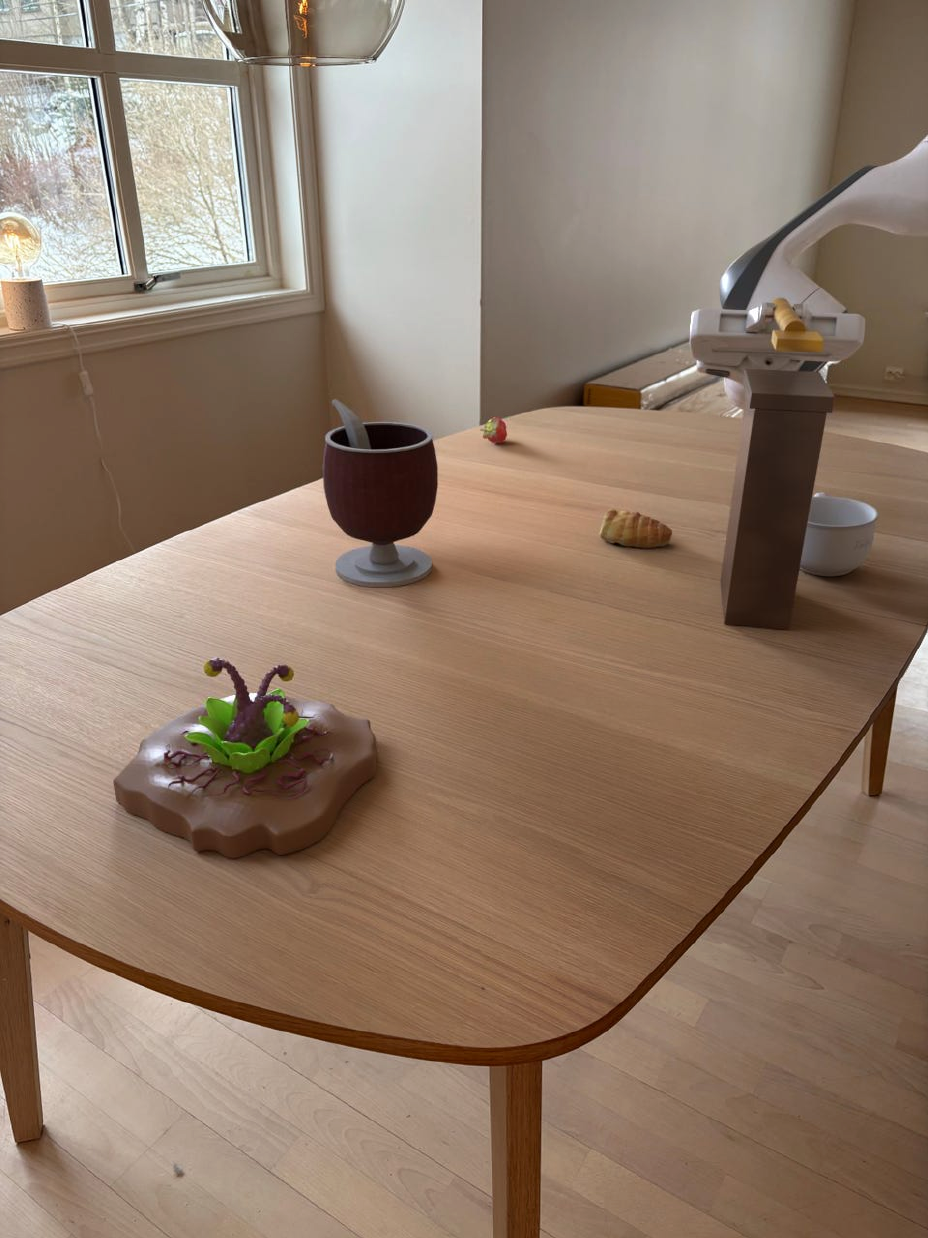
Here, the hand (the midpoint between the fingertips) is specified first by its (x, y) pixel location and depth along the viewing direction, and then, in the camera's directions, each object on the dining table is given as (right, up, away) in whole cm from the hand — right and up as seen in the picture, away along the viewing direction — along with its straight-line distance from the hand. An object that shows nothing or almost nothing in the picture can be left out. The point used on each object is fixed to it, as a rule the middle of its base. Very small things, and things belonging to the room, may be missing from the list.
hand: (783, 309), depth 109 cm
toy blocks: (-1, -5, -6) cm, 7 cm away
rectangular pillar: (-3, -34, +3) cm, 34 cm away
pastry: (-14, -25, +21) cm, 36 cm away
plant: (-55, -49, -28) cm, 78 cm away
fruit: (-31, -3, +64) cm, 71 cm away
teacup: (+10, -28, +14) cm, 33 cm away
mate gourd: (-47, -29, +13) cm, 57 cm away
